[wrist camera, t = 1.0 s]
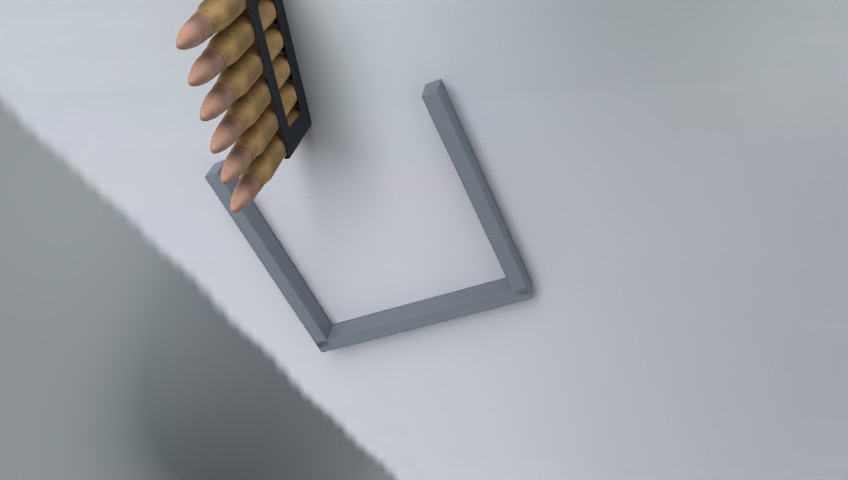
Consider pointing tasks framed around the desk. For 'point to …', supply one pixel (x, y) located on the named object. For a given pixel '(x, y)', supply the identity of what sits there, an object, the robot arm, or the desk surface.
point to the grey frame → (410, 314)
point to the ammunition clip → (248, 88)
